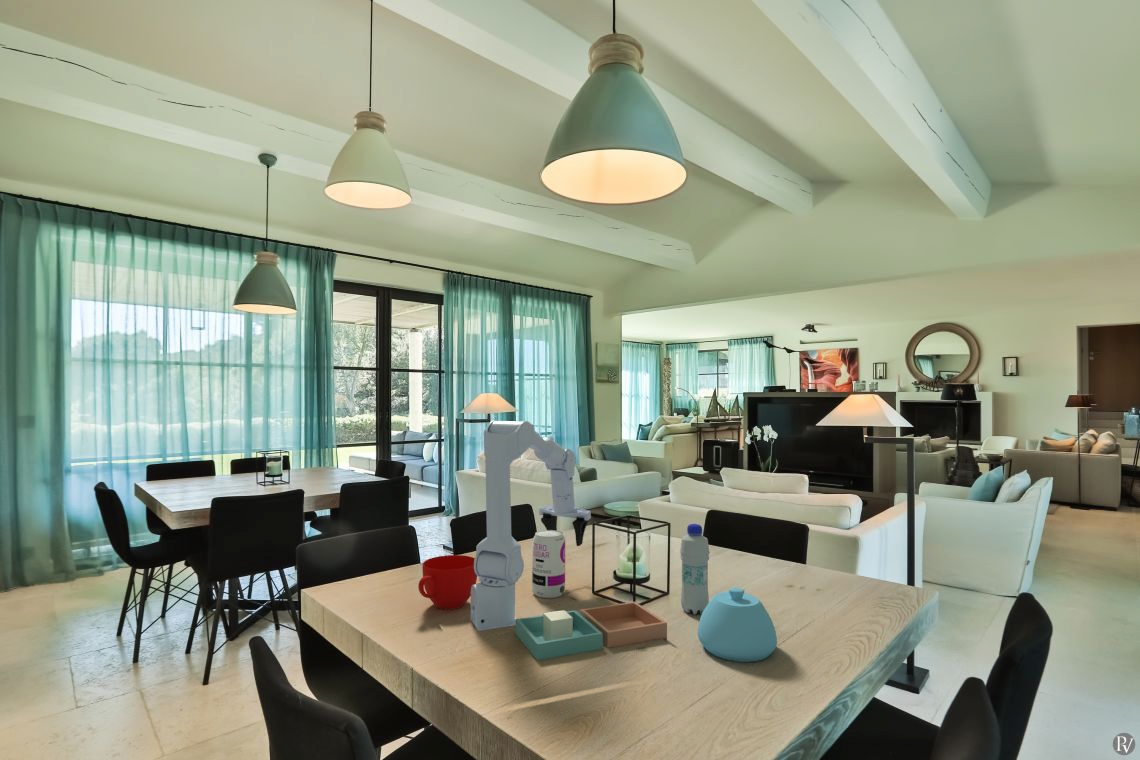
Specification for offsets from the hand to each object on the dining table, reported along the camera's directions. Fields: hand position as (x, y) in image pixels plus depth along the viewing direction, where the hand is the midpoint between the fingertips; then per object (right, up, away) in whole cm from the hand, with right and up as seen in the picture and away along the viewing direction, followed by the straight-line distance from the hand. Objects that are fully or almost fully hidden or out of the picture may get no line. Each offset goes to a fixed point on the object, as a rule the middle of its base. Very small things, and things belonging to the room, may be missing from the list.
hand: (566, 542), depth 157 cm
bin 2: (+12, -10, -33) cm, 37 cm away
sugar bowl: (+34, -10, -40) cm, 54 cm away
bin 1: (-2, -9, -39) cm, 40 cm away
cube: (-2, -9, -39) cm, 40 cm away
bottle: (+30, -10, -20) cm, 37 cm away
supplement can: (-5, -11, -9) cm, 14 cm away
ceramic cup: (-29, -10, -19) cm, 36 cm away
